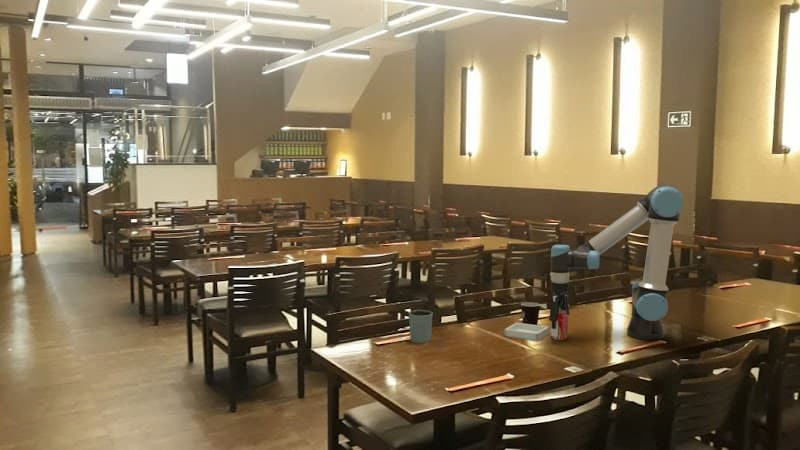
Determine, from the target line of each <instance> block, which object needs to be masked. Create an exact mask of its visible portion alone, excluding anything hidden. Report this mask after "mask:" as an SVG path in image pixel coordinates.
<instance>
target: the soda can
mask: <svg viewBox="0 0 800 450" xmlns="http://www.w3.org/2000/svg"><path fill="white" fill-rule="evenodd" d="M568 316H569V315H567V313H566V311H565V310H560V309H559V314H558V318H557V321H558V337H556V336H551V335H550V338H551V339H553V340H554V341H565V340H566V339H567V338H568V332H569V330H568V329H569V327H568V326H569V317H568ZM553 318H554V317H553Z"/></svg>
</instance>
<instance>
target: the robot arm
mask: <svg viewBox="0 0 800 450" xmlns="http://www.w3.org/2000/svg"><path fill="white" fill-rule="evenodd" d="M683 197H684V196H683V194H682V193H681V192H680V191H679V190H678V189H677V188H675V187H673V186H667V185H659V186H656V187H654V188H652V189H651V190H650V191H649V192H648V193H647V194H646V195H644V196H643V197H642V198H641V199H639V200H637V203H636V205H635V207H633V208H631V209H630V210H629V211H627V212H626V213H624V214H623V215H622V216H620V217H619V218H618V219H616V220H615V221H614V222H612V223H611V224H610V225H609V226H606V228H604V229H603V230H602V231H601V232H599V233H598V234H596V235H595V236H593V237H592V238H591V239H590V240H589V239H588V241H587V242H585V243H584V244H583V245H580V246H578V247H577V248H576V250H572V249H571V248H570V246H569V245H568V244H554V245H552V247H551V249H550V250H551V251H550V273H549V276H550V281H551V282H550V291H551V292H554V294H553V296H551V297H550V298H551V300H550V301H551V302H550V310H549V317H548V321H550V337H551V336H556V337H558V321H557V318H558V314H559V310H565V311H566V313H567V315H568V316H569V315H570V307H569V299H568V296H569V295H568V292H569V290H570V283H569V282H570V269H583V270H586V269H587V270H588V269H589V270H597V269H599V267H600V255H601V254H603V253H605V251H607V250H608V249H610V248H611V247H613V246H614V245H615V244H617V243H618V242H619V241H621V240H622V239H623V238H625V237H626V236H628V235H630V233H633V231H635V230H636V229H638V228H639V227H641V226H642V225H643V224H644V223H646V222H647V221H649V222H650V228H649V235H648V236H649V237H648V242H647V249H646V255H645V262H644V263H645V264H644V269H643V276H642V281H639V282H633V284H632V288H631V290H632V291H631V295H632V296H631V317H630V320H629V323H628V326H627V328H626V335H627V336H629V337H630V338H634V339H637V340H647V341H650V340H651V341H654V340H663V339H664V338H665V335H666V334H665V328H664V325H663V323H662V319H663V318H664V317H665V316H666V315H667V313H668V309H669V304H668V296H669V287H668V286H667V285H666V282H667V275H668V269H669V261H670V253H671V248H672V239H673V235H674V227H675V225H677V224H678V223H679V222H680V216H681V212H682V210H683V207H684V204H685V203H684V198H683ZM553 317H554V318H553Z"/></svg>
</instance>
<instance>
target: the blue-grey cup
mask: <svg viewBox="0 0 800 450" xmlns="http://www.w3.org/2000/svg"><path fill="white" fill-rule="evenodd" d="M433 315H434V313H433V312H432V311H431V310H425V309H415V310H411V311H409V312H408V321H409V322H408V323H409V337H410V342H412V343H415V344H424V343H430V342H431V340H432V339H431V336H432V326H433Z"/></svg>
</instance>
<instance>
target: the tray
mask: <svg viewBox="0 0 800 450" xmlns="http://www.w3.org/2000/svg"><path fill="white" fill-rule="evenodd" d="M503 330H504V331H503V333H504V334H503V336H504V337H506V338H507V337H508V338H514V339H521V340H526V341H527V340H528V341H533V342H534V341H535V342H539V341H540V340H541V339H543V338H545V337H547V336H548V335H549V334H550V326H546V325H531V324H524V323H523V322H515V323H514V324H511V325H509V326H508V327H506V328H504V329H503Z"/></svg>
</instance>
